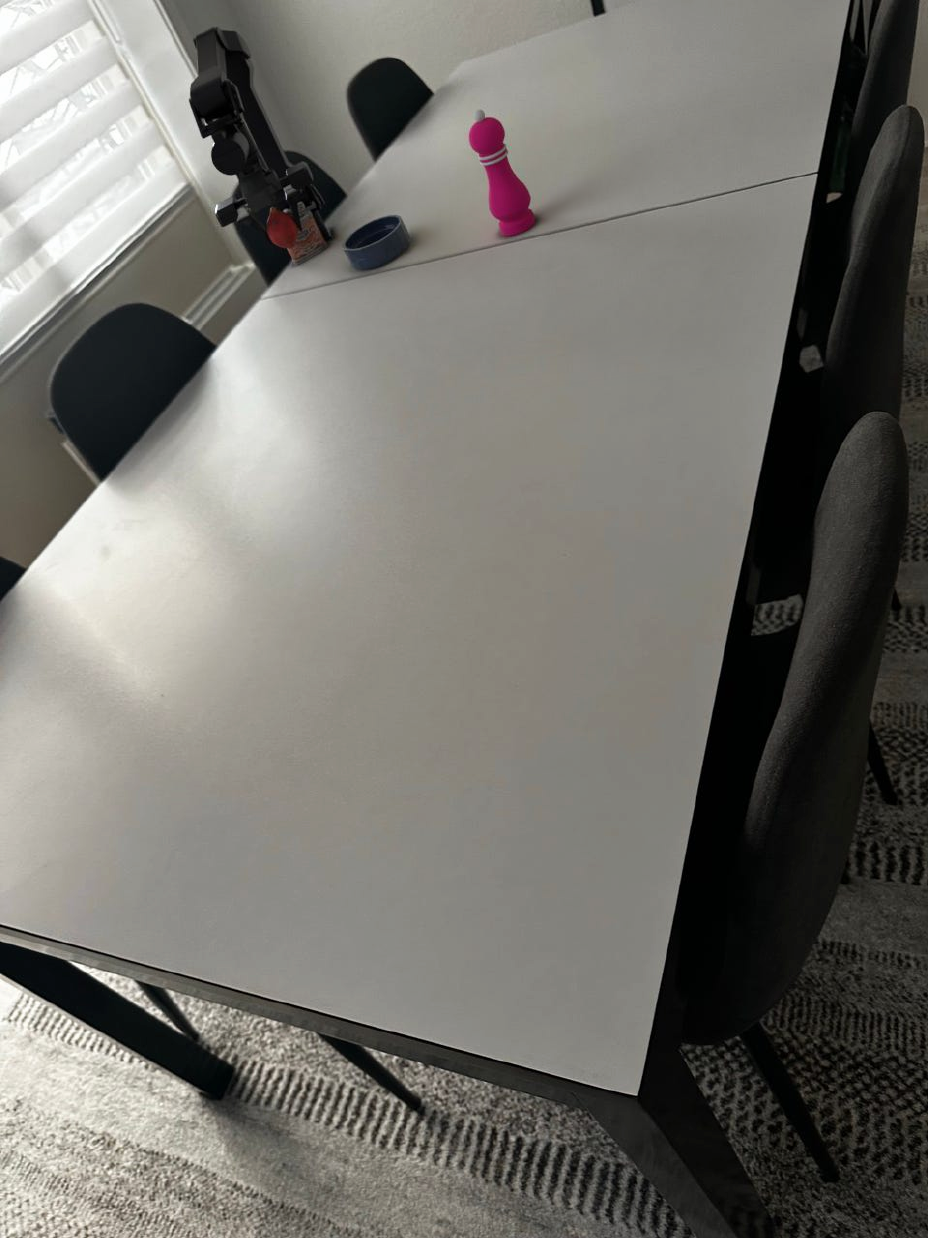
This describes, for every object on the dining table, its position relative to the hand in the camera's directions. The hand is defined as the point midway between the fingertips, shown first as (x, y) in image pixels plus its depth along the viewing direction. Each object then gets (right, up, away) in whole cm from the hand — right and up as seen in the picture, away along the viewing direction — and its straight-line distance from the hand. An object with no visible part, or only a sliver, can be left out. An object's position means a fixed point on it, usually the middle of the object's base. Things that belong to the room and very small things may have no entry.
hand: (286, 237), depth 174 cm
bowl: (+18, -1, +4) cm, 18 cm away
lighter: (+1, +4, +19) cm, 20 cm away
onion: (+1, -1, +1) cm, 2 cm away
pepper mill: (+43, -3, -12) cm, 45 cm away
